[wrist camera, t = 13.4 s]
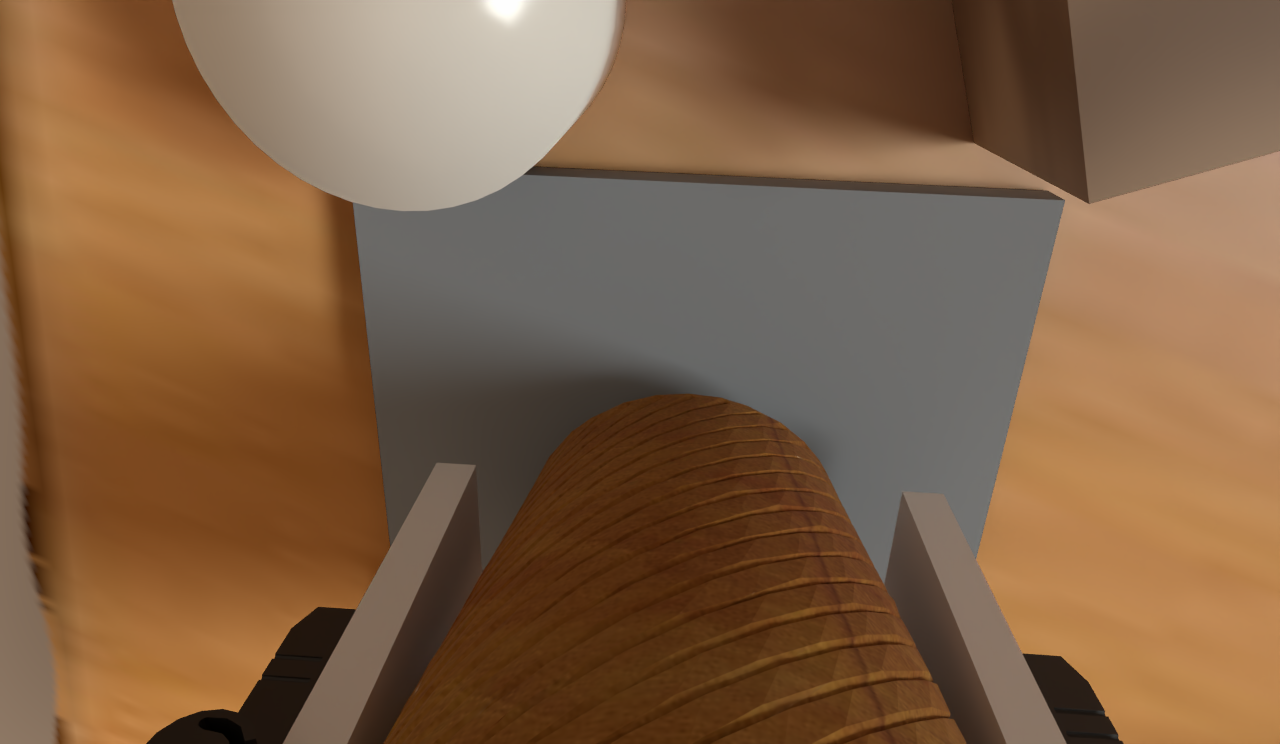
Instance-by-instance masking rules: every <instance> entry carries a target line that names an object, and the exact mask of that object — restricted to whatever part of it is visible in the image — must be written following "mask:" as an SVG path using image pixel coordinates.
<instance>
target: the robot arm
mask: <svg viewBox="0 0 1280 744" xmlns="http://www.w3.org/2000/svg"><path fill="white" fill-rule="evenodd" d="M481 574H482V564H481V546H480V527H479V509H478V491H477V472H476V465H468V464H451V463H436V465H435V467H434V469H433V470H432V472H431V474H430V476H429V478H428V480H427V481H426V483H425V485H424V487H423V489H422V491H421V492H420V494H419V496H418V498H417V500H416V501H415V503H414V505H413V507H412V509H411V511H410V512H409V514H408V516H407V518H406V520H405V522H404V523H403V525H402V527H401V529H400V531H399V533H398V534H397V536H396V538H395V540H394V542H393V543H392V545H391V547H390V549H389V551H388V553H387V554H386V556H385V558H384V560H383V562H382V564H381V565H380V567H379V569H378V571H377V573H376V574H375V576H374V578H373V580H372V582H371V584H370V585H369V587H368V589H367V591H366V593H365V595H364V596H363V598H362V600H361V602H360V604H359V606H358V607H357V609H356V610H355V609H341V608H326V607H318V608H316V609H315V610H314V611H313V612H311V613H310V614H309V615H308V616H306V617H305V618H304V619H303V620H301V621H300V622H299V623H298V624H296V625H295V626H294V627H293V628H291V630H290V632H289V633H288V635H287V636H286V638H285V639H284V641H283V643H282V644H281V646H280V647H279V649H278V651H277V652H276V654H275V659H272V660H271V662H270V663H269V665H268V666H267V668H266V669H265V671H264V673H263V674H262V679H261V680H259V681H258V682H257V684H256V685H255V687H254V688H253V690H252V692H251V693H250V695H249V696H248V698H247V699H246V701H245V703H244V704H243V706H242V707H241V709H240V710H239V712H238V713H237V712H233V711H228V710H224V709H220V710H208V711H200V712H197V713H194V714H192V715H189V716H186V717H183V718H180V719H178V720H176V721H175V722H173V723H171V724H170V725H168V726H167V727H165V728H163V729H162V730H160V731H159V732H157V733H156V734H155V735H154V736H153V737H152V738H151V739H150V740H149V741H148V742H147V743H146V744H383V743H384V742H385V740H386V738H387V736H388V734H389V733H390V731H391V729H392V727H393V726H394V724H395V722H396V720H397V718H398V716H399V715H400V713H401V711H402V709H403V707H404V705H405V704H406V702H407V700H408V698H409V697H410V695H411V694H412V692H413V691H414V689H415V688H416V686H417V684H418V682H419V680H420V679H421V677H422V675H423V673H424V671H425V669H426V668H427V666H428V664H429V662H430V661H431V660H432V658H433V657H434V655H435V654H436V652H437V651H438V649H439V647H440V646H441V644H442V642H443V640H444V639H445V637H446V635H447V634H448V632H449V630H450V628H451V627H452V625H453V623H454V621H455V620H456V618H457V616H458V614H459V613H460V611H461V609H462V607H463V605H464V604H465V602H466V600H467V598H468V597H469V595H470V593H471V591H472V590H473V588H474V586H475V584H476V583H477V581H478V579H479V577H480V576H481ZM884 585H885V588H886V590H887V592H888V594H889V595H890V596H891V597H892V598H893V600H894V601H895V603H896V606H897V609H898V612H899V615H900V618H901V620H903V622H904V624H905V626H906V628H907V630H908V632H909V633H910V635H911V637H912V639H913V641H914V643H915V645H916V648H917V650H918V651H919V653H920V655H921V657H922V659H923V661H924V663H925V664H926V666H927V668H928V670H929V672H930V674H931V677H932V679H933V681H932V682H933V683H935V684H937V685H938V687H939V689H940V691H941V693H942V696H943V698H944V700H945V702H946V704H947V707H948V709H949V711H950V717H949V718H948V719H954V720H955V722H956V724H957V726H958V728H959V730H960V732H961V733H962V735H963V737H964V739H965V741H966V743H967V744H1123V742H1122V741H1119V739H1118V733H1117V732H1116V730H1115V728H1114V726H1113V725H1112V723H1111V721H1110V719H1109V718H1108V717H1105V711H1104V709H1103V707H1102V705H1101V704H1100V702H1099V700H1098V698H1097V696H1096V695H1095V693H1094V691H1093V689H1092V688H1091V686H1090V684H1089V682H1088V681H1087V680H1085V679H1084V678H1083V677H1082V676H1081V675H1080V674H1079V673H1078V672H1077V671H1076V670H1075V669H1074V668H1073V667H1072V666H1070V665H1069V664H1068V663H1067V662H1066V661H1065V660H1064V659H1063V658H1062V657H1061V656H1049V655H1035V654H1022V652H1021V650H1020V648H1019V646H1018V644H1017V642H1016V640H1015V638H1014V636H1013V634H1012V632H1011V630H1010V628H1009V626H1008V624H1007V622H1006V620H1005V618H1004V616H1003V614H1002V612H1001V610H1000V608H999V606H998V604H997V602H996V600H995V597H994V595H993V593H992V591H991V589H990V587H989V585H988V583H987V581H986V579H985V577H984V575H983V573H982V571H981V569H980V567H979V565H978V563H977V561H976V559H975V557H974V555H973V553H972V551H971V549H970V547H969V545H968V543H967V541H966V539H965V537H964V535H963V533H962V531H961V529H960V526H959V524H958V522H957V520H956V518H955V516H954V514H953V512H952V510H951V508H950V506H949V504H948V502H947V500H946V498H945V496H944V494H937V493H921V492H905V491H902V496H901V501H900V506H899V511H898V516H897V521H896V526H895V531H894V537H893V542H892V547H891V552H890V557H889V562H888V567H887V572H886V577H885V583H884Z"/></svg>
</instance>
